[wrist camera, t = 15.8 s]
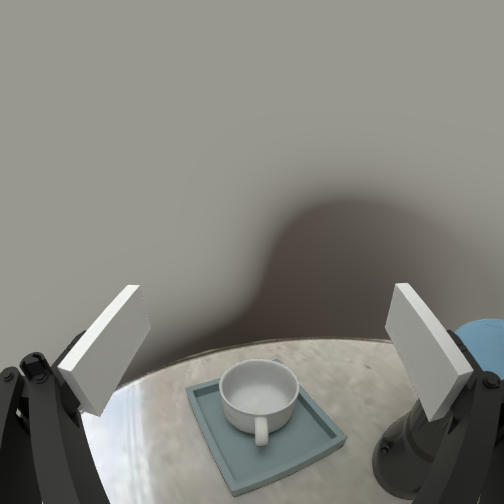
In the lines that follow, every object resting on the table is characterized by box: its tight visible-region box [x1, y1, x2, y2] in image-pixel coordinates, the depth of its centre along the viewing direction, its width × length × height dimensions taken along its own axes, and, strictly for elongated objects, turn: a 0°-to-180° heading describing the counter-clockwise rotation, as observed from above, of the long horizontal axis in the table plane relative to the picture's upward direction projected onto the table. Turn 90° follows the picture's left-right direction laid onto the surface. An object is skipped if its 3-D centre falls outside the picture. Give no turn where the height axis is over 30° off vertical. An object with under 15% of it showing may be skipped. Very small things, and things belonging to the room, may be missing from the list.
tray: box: [185, 359, 347, 497], centre depth 35 cm, size 17×20×3 cm
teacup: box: [219, 359, 299, 446], centre depth 33 cm, size 14×11×8 cm
